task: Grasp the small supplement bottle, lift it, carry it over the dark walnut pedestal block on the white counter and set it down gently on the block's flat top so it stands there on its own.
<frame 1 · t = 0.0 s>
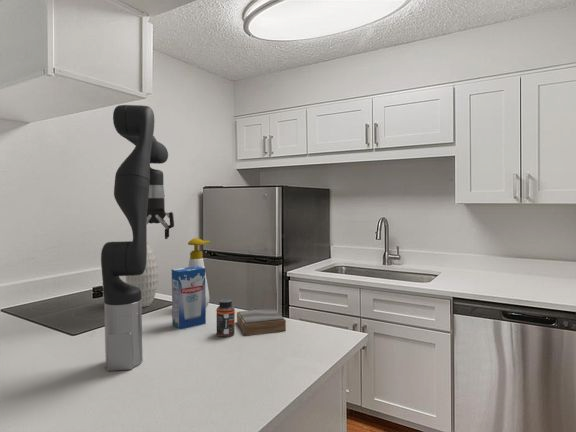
hand: (154, 239, 145), 29 cm above the counter, fingers open, 8 cm apart
walnut block: (260, 326, 132), on the counter
supplement bottle: (225, 334, 124), on the counter
soap bottle: (199, 310, 152), on the counter
milk carton: (189, 324, 134), on the counter
vase: (142, 305, 158), on the counter
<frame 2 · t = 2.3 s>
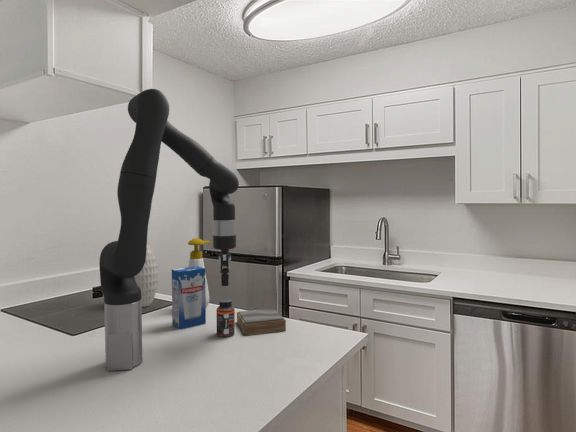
hand: (225, 282, 123), 17 cm above the counter, fingers open, 8 cm apart
nothing on the counter moved.
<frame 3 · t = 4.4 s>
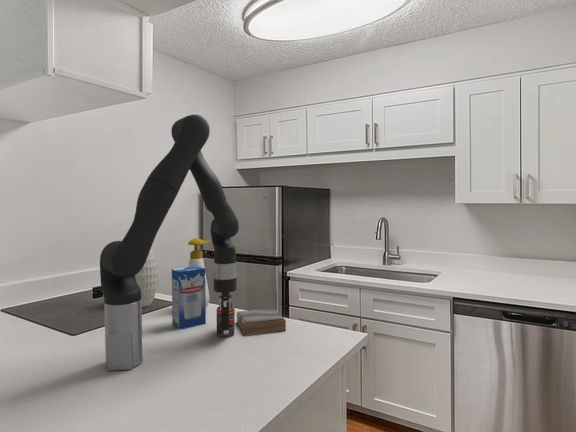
hand: (225, 326, 124), 3 cm above the counter, fingers closed on supplement bottle, 6 cm apart
supplement bottle: (225, 334, 124), on the counter, touching gripper
everything else where it was.
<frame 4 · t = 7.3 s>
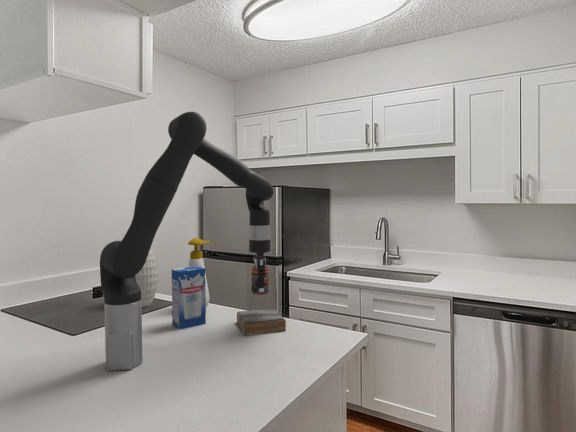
hand: (260, 285, 131), 14 cm above the counter, fingers closed on supplement bottle, 6 cm apart
supplement bottle: (260, 293, 131), point 12 cm above the counter, touching gripper
everything else where it was.
when the fingers open (7 cm above the counter, at t = 10.3 s): supplement bottle stays where it is, resting on walnut block.
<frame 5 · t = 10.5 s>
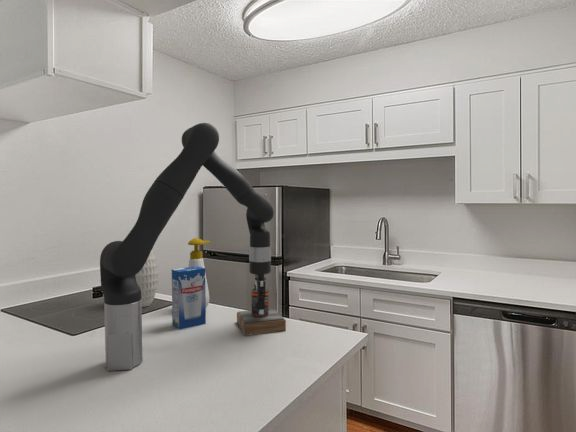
hand: (260, 306, 131), 7 cm above the counter, fingers open, 7 cm apart
supplement bottle: (260, 315, 132), point 4 cm above the counter, touching walnut block
everything else where it was.
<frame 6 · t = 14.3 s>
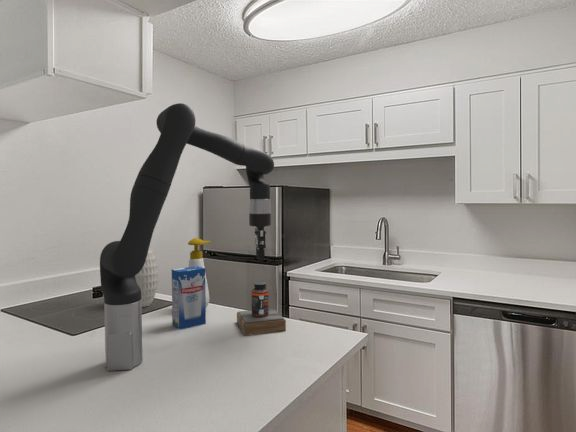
hand: (260, 258, 131), 24 cm above the counter, fingers open, 8 cm apart
nothing on the counter moved.
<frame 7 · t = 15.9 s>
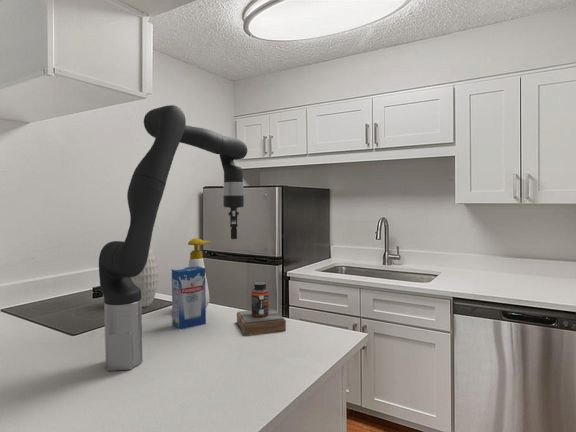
hand: (233, 237, 141), 30 cm above the counter, fingers open, 8 cm apart
nothing on the counter moved.
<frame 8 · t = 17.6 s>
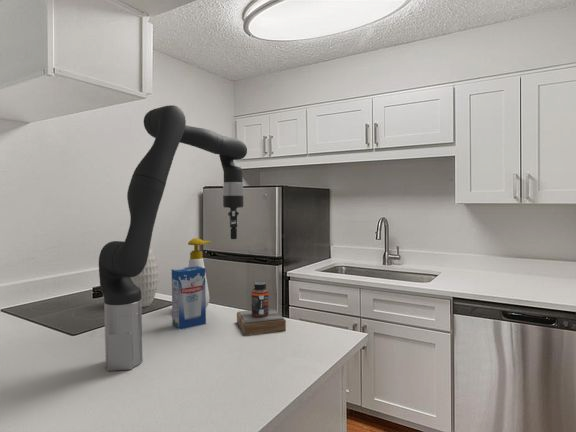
hand: (233, 237, 141), 30 cm above the counter, fingers open, 8 cm apart
nothing on the counter moved.
at the end: supplement bottle inside the target area on the walnut block (0.1 cm from its centre), point 3.8 cm above the walnut block's base; supplement bottle tilted 0°; the gripper is holding nothing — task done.
